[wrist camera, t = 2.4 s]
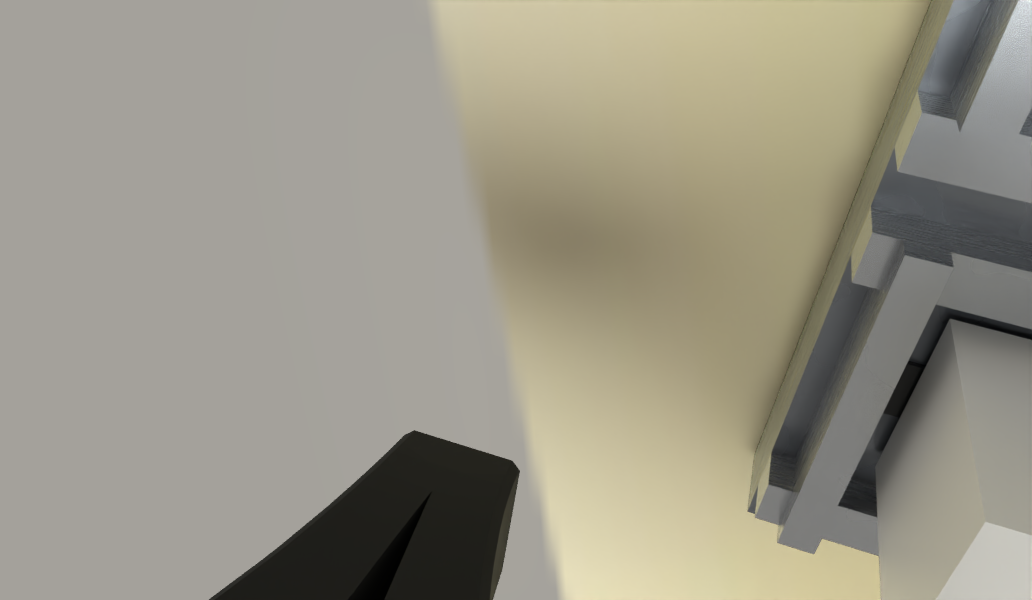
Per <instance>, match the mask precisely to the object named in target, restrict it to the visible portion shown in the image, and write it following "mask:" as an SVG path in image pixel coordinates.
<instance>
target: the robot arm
mask: <svg viewBox="0 0 1032 600" xmlns="http://www.w3.org/2000/svg"><path fill="white" fill-rule="evenodd" d="M519 473H520V471H519V469H518V468H517V467H516V465H515V464H514V463H513V461H511V460H508V459H505V458H502V457H498V456H495V455H492V454H489V453H486V452H482V451H479V450H476V449H472V448H469V447H466V446H463V445H459V444H457V443H453V442H450V441H447V440H444V439H440V438H437V437H434V436H431V435H427V434H424V433H421V432H418V431H415V430H414V431H412V432H410V433H408V434H406V435H404V436H403V437H402V439H400V440H399V441H398V442H397V443H396V444H395V445H394V446H393V447H392V448H391V449H390V450H389V451H388V452H387V453H386V454H385V455H384V456H383V457H382V458H381V459H380V460H379V461H378V462H376V463H375V464H374V465H373V466H372V467H371V468H370V469H369V470H368V471H367V472H366V473H365V474H364V475H362V476H361V477H360V478H359V479H358V480H357V481H356V482H355V483H354V484H353V485H352V486H351V487H349V488H348V489H347V490H346V491H345V492H343V493H342V494H341V495H340V496H339V497H338V498H337V499H336V500H334V501H333V502H332V503H331V504H330V505H329V506H328V507H326V508H325V509H324V510H323V511H322V512H320V513H319V514H318V515H317V516H315V517H314V518H313V519H312V520H311V521H309V522H308V523H307V524H306V525H305V526H303V527H302V528H301V529H300V530H299V531H298V532H296V533H295V534H294V535H292V537H290V538H289V539H288V540H287V541H285V542H284V543H283V544H282V545H280V546H279V547H278V548H277V549H275V550H274V551H273V552H272V553H270V554H269V555H268V556H266V557H265V558H264V559H263V560H261V561H260V562H259V563H257V564H256V565H255V566H253V567H252V568H250V569H249V570H248V571H246V572H245V573H244V574H242V576H240V577H238V578H237V579H236V580H235V581H233V582H232V583H230V584H229V585H228V586H226V587H225V588H224V589H222V590H221V591H220V592H219V593H217V594H216V595H214V596H213V597H212V598H211V599H209V600H493V597H494V594H495V590H496V587H497V584H498V581H499V578H500V575H501V572H502V567H503V562H504V557H505V551H506V545H507V540H508V534H509V528H510V523H511V517H512V512H513V506H514V501H515V495H516V489H517V484H518V478H519Z"/></svg>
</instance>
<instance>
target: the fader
mask: <svg viewBox="0 0 1032 600" xmlns="http://www.w3.org/2000/svg"><path fill="white" fill-rule="evenodd" d="M875 472H876V496H877V520H878V544H879V568H880V591H881V600H1032V340H1030V339H1026V338H1022V337H1018V336H1014V335H1011V334H1007V333H1003V332H999V331H995V330H992V329H988V328H984V327H980V326H976V325H972V324H969V323H965V322H961V321H957V320H953V319H949V321H948V323H947V325H946V327H945V329H944V331H943V333H942V335H941V337H940V339H939V341H938V343H937V345H936V347H935V349H934V351H933V353H932V355H931V357H930V359H929V361H928V363H927V365H926V367H925V369H924V371H923V373H922V375H921V377H920V379H919V381H918V383H917V385H916V387H915V389H914V391H913V393H912V395H911V397H910V399H909V401H908V403H907V405H906V407H905V409H904V411H903V413H902V415H901V417H900V419H899V421H898V423H897V424H896V426H895V428H894V430H893V432H892V434H891V436H890V438H889V440H888V442H887V444H886V446H885V448H884V450H883V452H882V454H881V456H880V458H879V460H878V462H877V464H876V466H875Z"/></svg>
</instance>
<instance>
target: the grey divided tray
mask: <svg viewBox="0 0 1032 600" xmlns="http://www.w3.org/2000/svg"><path fill="white" fill-rule="evenodd" d="M949 319H953V320H957V321H961V322H965V323H969V324H972V325H976V326H980V327H984V328H988V329H992V330H995V331H999V332H1003V333H1007V334H1011V335H1014V336H1018V337H1022V338H1026V339H1030V340H1032V0H932V1H931V3H930V6H929V8H928V11H927V13H926V16H925V18H924V21H923V24H922V26H921V29H920V31H919V34H918V36H917V39H916V42H915V44H914V47H913V49H912V52H911V54H910V57H909V60H908V62H907V65H906V67H905V70H904V72H903V75H902V78H901V80H900V83H899V85H898V88H897V90H896V93H895V96H894V98H893V101H892V103H891V106H890V108H889V111H888V114H887V116H886V119H885V121H884V124H883V126H882V129H881V132H880V134H879V137H878V139H877V142H876V144H875V147H874V149H873V152H872V155H871V157H870V160H869V162H868V165H867V167H866V170H865V173H864V175H863V178H862V180H861V183H860V185H859V188H858V191H857V193H856V196H855V198H854V201H853V203H852V206H851V209H850V211H849V214H848V216H847V219H846V221H845V224H844V227H843V229H842V232H841V234H840V237H839V239H838V242H837V245H836V247H835V250H834V252H833V255H832V257H831V260H830V262H829V265H828V268H827V270H826V273H825V275H824V278H823V280H822V283H821V286H820V288H819V291H818V293H817V296H816V298H815V301H814V304H813V306H812V309H811V311H810V314H809V316H808V319H807V322H806V324H805V327H804V329H803V332H802V334H801V337H800V340H799V342H798V345H797V347H796V350H795V352H794V355H793V358H792V360H791V363H790V365H789V368H788V370H787V373H786V375H785V378H784V381H783V383H782V386H781V388H780V391H779V393H778V396H777V399H776V401H775V404H774V406H773V409H772V411H771V414H770V417H769V419H768V422H767V424H766V427H765V429H764V432H763V435H762V437H761V440H760V442H759V445H758V447H757V450H756V453H755V455H754V461H753V470H752V478H751V486H750V495H749V503H748V511H747V512H751V513H754V514H755V518H758V519H761V520H764V521H768V522H771V523H774V524H777V525H778V538H777V543H780V544H783V545H786V546H789V547H792V548H796V549H799V550H802V551H805V552H808V553H812V554H814V553H815V551H816V549H817V547H818V545H819V543H820V541H821V539H826V540H829V541H832V542H835V543H838V544H842V545H845V546H848V547H851V548H855V549H858V550H861V551H864V552H867V553H871V554H874V555H877V556H879V544H878V520H877V496H876V472H875V466H876V464H877V462H878V460H879V458H880V456H881V454H882V452H883V450H884V448H885V446H886V444H887V442H888V440H889V438H890V436H891V434H892V432H893V430H894V428H895V426H896V424H897V423H898V421H899V419H900V417H901V415H902V413H903V411H904V409H905V407H906V405H907V403H908V401H909V399H910V397H911V395H912V393H913V391H914V389H915V387H916V385H917V383H918V381H919V379H920V377H921V375H922V373H923V371H924V369H925V367H926V365H927V363H928V361H929V359H930V357H931V355H932V353H933V351H934V349H935V347H936V345H937V343H938V341H939V339H940V337H941V335H942V333H943V331H944V329H945V327H946V325H947V323H948V321H949Z"/></svg>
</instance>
